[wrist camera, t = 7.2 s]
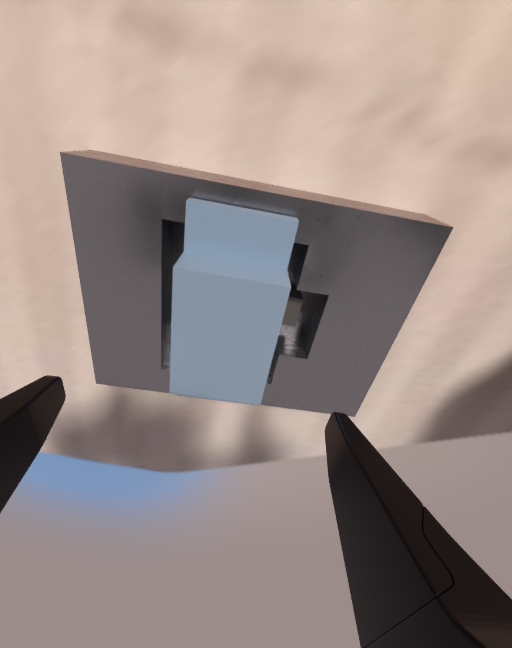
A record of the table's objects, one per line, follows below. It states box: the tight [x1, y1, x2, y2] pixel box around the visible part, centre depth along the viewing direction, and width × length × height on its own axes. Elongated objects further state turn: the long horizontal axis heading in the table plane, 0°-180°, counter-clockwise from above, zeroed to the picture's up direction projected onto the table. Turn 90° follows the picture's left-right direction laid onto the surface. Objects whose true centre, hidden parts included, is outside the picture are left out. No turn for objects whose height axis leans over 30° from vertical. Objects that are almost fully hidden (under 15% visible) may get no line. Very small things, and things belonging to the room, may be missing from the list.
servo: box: [169, 198, 303, 405], centre depth 15 cm, size 6×10×5 cm, turn 170°
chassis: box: [60, 150, 453, 417], centre depth 16 cm, size 16×12×2 cm
